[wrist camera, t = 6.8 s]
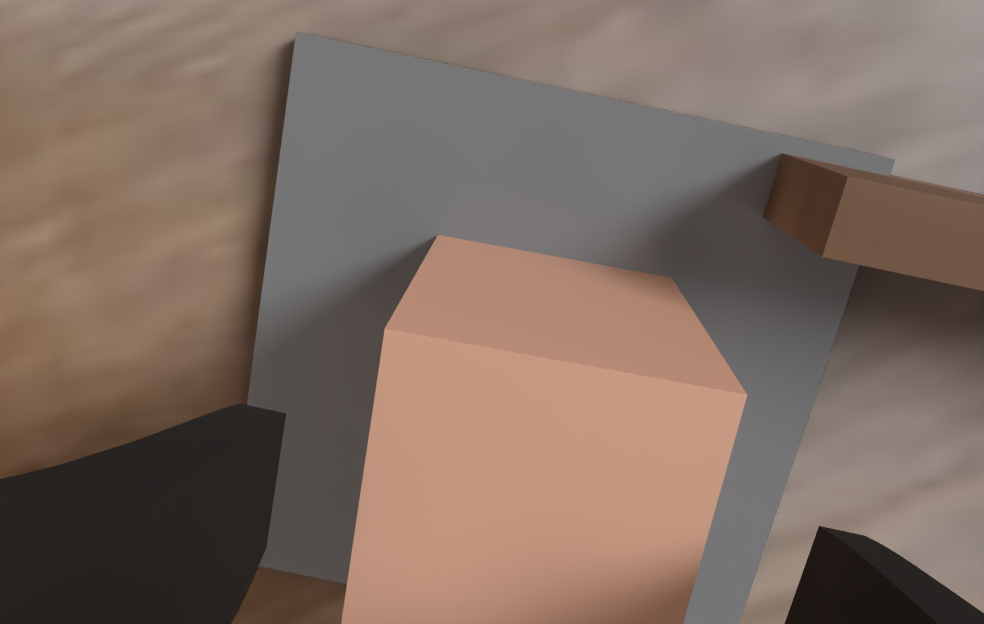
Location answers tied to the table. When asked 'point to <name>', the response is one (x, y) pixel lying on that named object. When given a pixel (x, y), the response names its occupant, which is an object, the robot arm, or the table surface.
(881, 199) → the brown piece
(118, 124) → the table surface
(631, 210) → the coaster
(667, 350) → the block
